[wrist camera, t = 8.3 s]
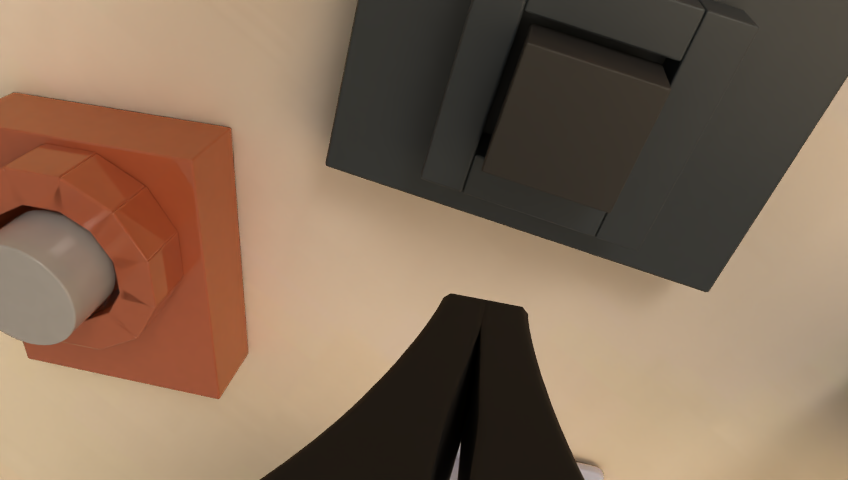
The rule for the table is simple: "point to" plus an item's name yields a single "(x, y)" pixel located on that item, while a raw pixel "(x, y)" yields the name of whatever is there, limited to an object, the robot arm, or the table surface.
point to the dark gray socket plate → (664, 148)
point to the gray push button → (50, 277)
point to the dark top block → (575, 118)
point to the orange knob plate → (137, 235)
